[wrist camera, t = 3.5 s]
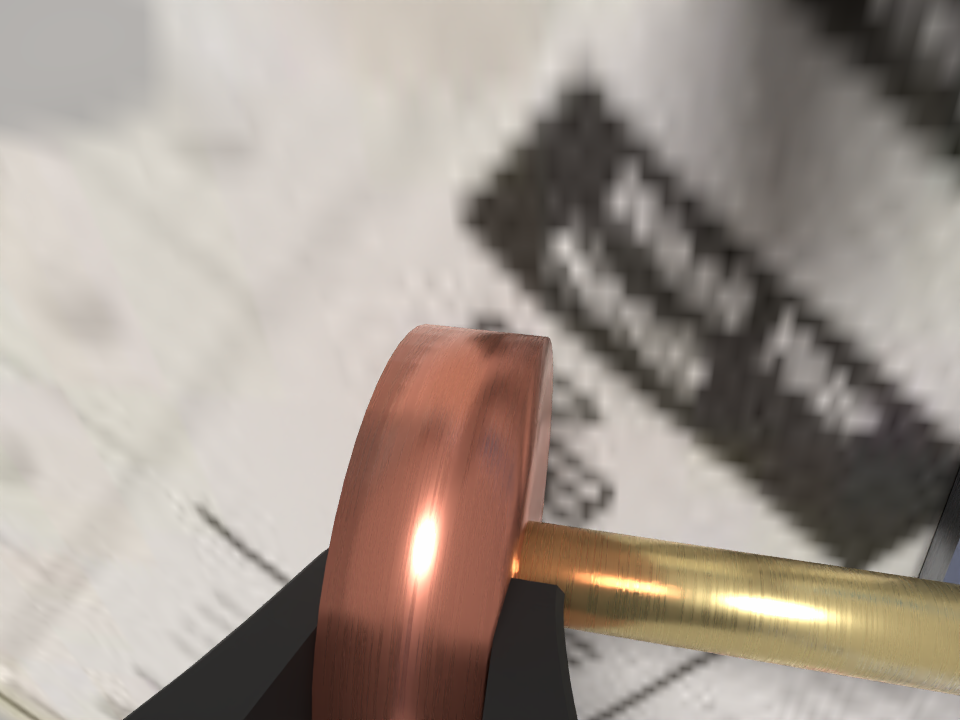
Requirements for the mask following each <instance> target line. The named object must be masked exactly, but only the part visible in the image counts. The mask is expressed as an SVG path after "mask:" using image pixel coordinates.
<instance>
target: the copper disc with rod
mask: <svg viewBox="0 0 960 720" xmlns="http://www.w3.org/2000/svg"><path fill="white" fill-rule="evenodd" d="M552 394H553V352H552V344H551V341H550V338H548V337H543V336H533V335H524V334H514V333H505V332H496V331H486V330H477V329H467V328H458V327H449V326H439V325H430V324H424V325H420V326H417V327H416V328H414V329H413V330H412V331H410V332H409V333H408V334H407V335H406V337H405V338H404V339H403V340H402V341H401V342H400V344H399V345H398V347H397V348H396V350H395V351H394V353H393V354H392V356H391V358H390V359H389V361H388V363H387V365H386V367H385V369H384V371H383V373H382V375H381V377H380V379H379V381H378V383H377V385H376V388H375V390H374V393H373V395H372V398H371V400H370V402H369V405H368V407H367V410H366V413H365V416H364V418H363V421H362V424H361V427H360V430H359V433H358V436H357V439H356V442H355V445H354V448H353V452H352V455H351V459H350V462H349V466H348V469H347V473H346V476H345V480H344V484H343V488H342V492H341V496H340V500H339V504H338V508H337V512H336V517H335V521H334V526H333V531H332V536H331V541H330V546H329V551H328V556H327V561H326V567H325V573H324V580H323V586H322V592H321V599H320V605H319V614H318V623H317V631H316V640H315V650H314V665H313V680H312V720H482V719H483V711H484V704H485V696H486V688H487V681H488V673H489V666H490V658H491V651H492V643H493V637H494V633H495V630H496V626H497V623H498V619H499V616H500V613H501V609H502V606H503V602H504V599H505V596H506V593H507V590H508V587H509V583H510V580H511V578H516V579H522V580H529V581H535V582H541V583H547V584H553V585H557V586H558V587H559V588H560V589H561V590H562V591H563V592H564V594H565V598H564V628H569V629H575V630H581V631H587V632H593V633H598V634H604V635H610V636H616V637H622V638H628V639H633V640H639V641H645V642H651V643H657V644H663V645H668V646H674V647H680V648H686V649H692V650H698V651H703V652H709V653H715V654H721V655H727V656H733V657H738V658H744V659H750V660H756V661H762V662H768V663H773V664H779V665H785V666H791V667H797V668H803V669H808V670H814V671H820V672H826V673H832V674H838V675H843V676H849V677H855V678H861V679H867V680H873V681H879V682H884V683H890V684H896V685H902V686H908V687H914V688H919V689H925V690H931V691H937V692H943V693H949V694H954V695H960V584H954V583H947V582H940V581H934V580H927V579H920V578H913V577H907V576H900V575H893V574H886V573H880V572H873V571H866V570H860V569H853V568H846V567H839V566H833V565H826V564H819V563H812V562H806V561H799V560H792V559H785V558H779V557H772V556H765V555H758V554H752V553H745V552H738V551H732V550H725V549H718V548H711V547H705V546H698V545H691V544H684V543H678V542H671V541H664V540H657V539H651V538H644V537H637V536H630V535H624V534H617V533H610V532H603V531H597V530H590V529H583V528H577V527H570V526H563V525H556V524H550V523H543V522H542V515H543V505H544V496H545V486H546V476H547V465H548V454H549V442H550V429H551V413H552Z"/></svg>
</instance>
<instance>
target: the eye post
mask: <svg viewBox="0 0 960 720" xmlns="http://www.w3.org/2000/svg"><path fill="white" fill-rule="evenodd" d="M919 578H920V579H927V580H934V581H940V582H947V583H954V584H960V470H959V472H958V475H957V478H956V480H955V483H954V486H953V488H952V491H951V494H950V496H949V499H948V502H947V504H946V507H945V510H944V512H943V515H942V518H941V520H940V523H939V526H938V528H937V531H936V534H935V536H934V539H933V542H932V544H931V547H930V550H929V552H928V555H927V558H926V560H925V563H924V566H923V568H922V571H921V574H920V576H919Z"/></svg>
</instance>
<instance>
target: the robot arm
mask: <svg viewBox="0 0 960 720" xmlns="http://www.w3.org/2000/svg"><path fill="white" fill-rule="evenodd" d="M328 551H329V548H328V549H327V550H325V551H324V552H322V553H321V554H320V555H319V556H318V557H317V558H315V559H314V560H313V561H312V562H311V563H310V564H309V565H308V566H306V567H305V568H304V569H303V570H302V571H301V572H300V573H299V574H298V575H296V576H295V577H294V578H293V579H292V580H291V581H290V582H289V583H288V584H286V585H285V586H284V587H283V588H282V589H281V590H280V591H279V592H278V593H276V594H275V595H274V596H273V597H272V598H271V599H270V600H269V601H267V602H266V603H265V604H264V605H263V606H262V607H261V608H259V609H258V610H257V611H256V612H255V613H254V614H253V615H252V616H250V617H249V618H248V619H247V620H246V621H245V622H243V623H242V624H241V625H240V626H239V627H238V628H236V629H235V630H234V631H233V632H232V633H230V634H229V635H228V636H227V637H226V638H225V639H223V640H222V641H221V642H220V643H219V644H217V645H216V646H215V647H214V648H213V649H211V650H210V651H209V652H208V653H207V654H206V655H204V656H203V657H202V658H201V659H200V660H198V661H197V662H196V663H195V664H194V665H192V666H191V667H190V668H189V669H187V670H186V671H185V672H184V673H182V674H181V675H180V676H179V677H177V678H176V679H175V680H173V681H172V682H171V683H170V684H168V685H167V686H166V687H164V688H163V689H162V690H160V691H159V692H158V693H157V694H155V695H154V696H153V697H151V698H150V699H149V700H148V701H146V702H145V703H144V704H142V705H141V706H140V707H139V708H137V709H136V710H135V711H133V712H132V713H131V714H129V715H128V716H127V717H126V718H124V719H123V720H312V680H313V665H314V650H315V640H316V631H317V623H318V614H319V605H320V599H321V592H322V586H323V580H324V573H325V567H326V561H327V556H328ZM564 598H565V594H564V592H563V591H562V590H561V589H560V588H559V587H558V586H557V585H553V584H547V583H541V582H535V581H529V580H522V579H516V578H511V580H510V583H509V587H508V590H507V593H506V596H505V599H504V602H503V606H502V609H501V613H500V616H499V619H498V623H497V626H496V630H495V633H494V637H493V643H492V651H491V658H490V666H489V673H488V681H487V688H486V696H485V704H484V711H483V719H482V720H578V719H577V714H576V709H575V705H574V699H573V694H572V688H571V682H570V676H569V669H568V661H567V654H566V645H565V635H564Z"/></svg>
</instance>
